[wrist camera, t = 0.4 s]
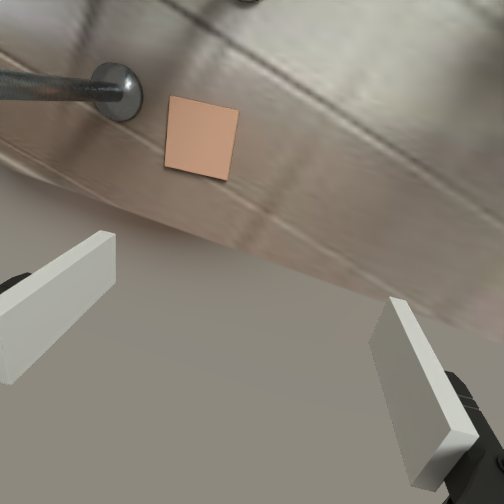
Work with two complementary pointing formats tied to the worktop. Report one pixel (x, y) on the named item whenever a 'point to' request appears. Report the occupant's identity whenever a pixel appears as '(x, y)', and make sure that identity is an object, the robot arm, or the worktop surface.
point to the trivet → (200, 137)
